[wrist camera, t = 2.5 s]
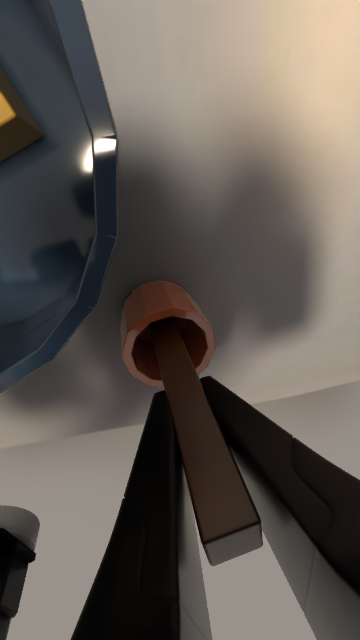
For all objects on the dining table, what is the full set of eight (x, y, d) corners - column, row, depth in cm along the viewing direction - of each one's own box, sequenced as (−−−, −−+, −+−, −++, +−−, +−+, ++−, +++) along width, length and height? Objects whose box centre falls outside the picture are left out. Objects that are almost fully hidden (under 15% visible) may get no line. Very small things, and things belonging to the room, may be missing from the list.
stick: (151, 329, 14) (210, 568, 5) (145, 311, 13) (201, 545, 5) (172, 323, 14) (264, 547, 5) (167, 304, 13) (263, 522, 5)
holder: (133, 354, 15) (138, 397, 12) (110, 292, 13) (108, 325, 10) (199, 334, 15) (220, 371, 12) (186, 271, 13) (208, 296, 10)
